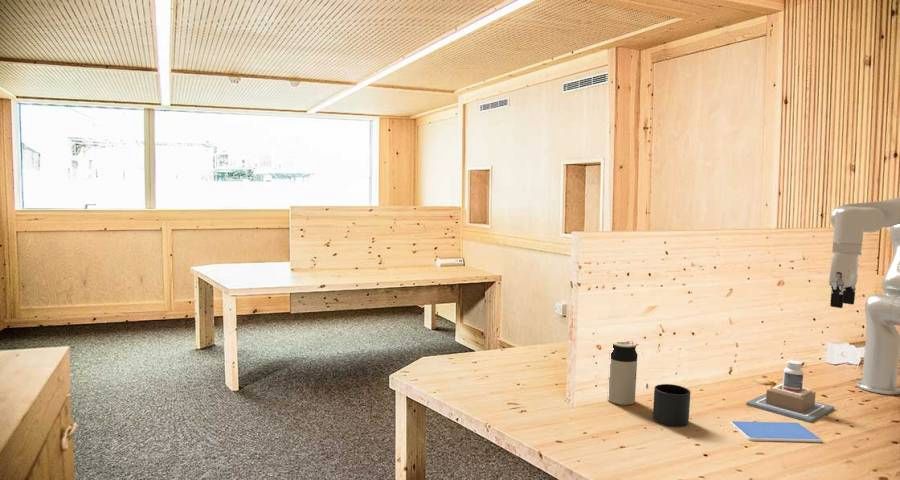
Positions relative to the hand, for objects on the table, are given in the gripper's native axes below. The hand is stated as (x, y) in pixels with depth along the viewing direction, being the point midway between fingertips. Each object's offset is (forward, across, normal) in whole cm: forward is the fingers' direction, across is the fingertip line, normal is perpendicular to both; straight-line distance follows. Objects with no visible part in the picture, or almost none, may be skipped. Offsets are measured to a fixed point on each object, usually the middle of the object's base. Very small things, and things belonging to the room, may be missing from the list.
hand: (842, 305), depth 198 cm
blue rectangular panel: (+31, +40, -1) cm, 50 cm away
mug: (+31, +54, -24) cm, 66 cm away
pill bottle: (+26, +15, -7) cm, 30 cm away
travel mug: (+31, +52, -41) cm, 73 cm away
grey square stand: (+30, +15, -7) cm, 35 cm away
